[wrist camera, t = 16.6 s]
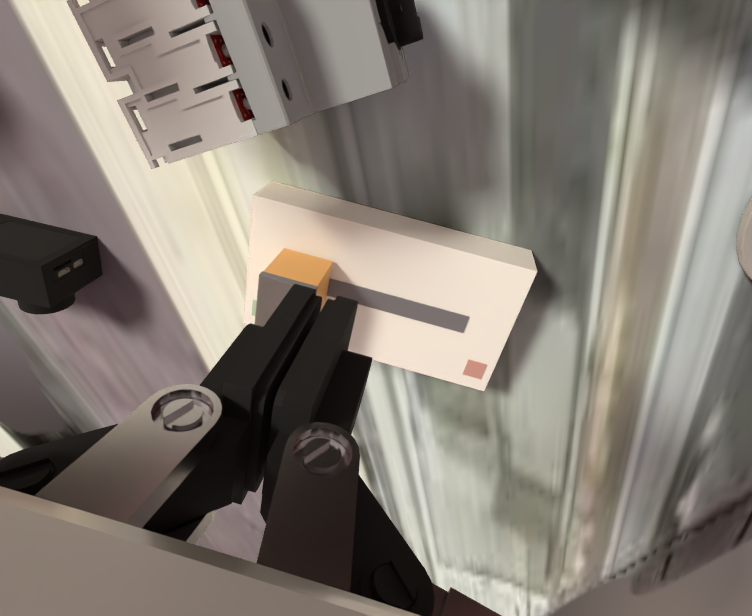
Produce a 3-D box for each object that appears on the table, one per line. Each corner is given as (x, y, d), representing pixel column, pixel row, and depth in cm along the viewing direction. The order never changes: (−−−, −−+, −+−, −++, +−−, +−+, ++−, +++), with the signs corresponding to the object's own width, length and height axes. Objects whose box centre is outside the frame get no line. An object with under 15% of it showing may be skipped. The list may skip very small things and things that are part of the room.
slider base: (531, 250, 38) (537, 272, 34) (483, 363, 44) (484, 391, 41) (272, 180, 39) (252, 195, 35) (260, 301, 45) (243, 323, 42)
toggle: (333, 260, 37) (315, 290, 32) (323, 314, 39) (306, 348, 35) (283, 247, 37) (258, 274, 33) (277, 301, 39) (253, 333, 35)
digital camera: (10, 262, 48) (-54, 294, 42) (-3, 212, 45) (-75, 239, 39) (105, 285, 48) (52, 320, 42) (97, 235, 45) (40, 266, 39)
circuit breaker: (438, 65, 33) (417, 84, 20) (260, 123, 37) (147, 170, 24) (411, -65, 29) (364, -143, 16) (218, 16, 33) (62, 3, 21)
